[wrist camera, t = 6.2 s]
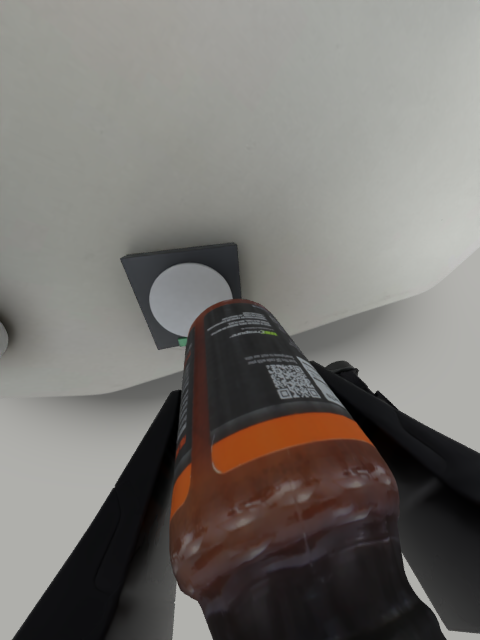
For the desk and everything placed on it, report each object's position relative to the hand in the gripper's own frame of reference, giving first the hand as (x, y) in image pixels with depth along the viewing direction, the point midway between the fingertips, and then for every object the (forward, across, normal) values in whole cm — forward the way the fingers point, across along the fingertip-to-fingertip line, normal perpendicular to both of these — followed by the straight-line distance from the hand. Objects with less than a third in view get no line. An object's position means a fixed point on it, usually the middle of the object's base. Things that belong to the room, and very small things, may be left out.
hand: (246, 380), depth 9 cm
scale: (+13, +3, +1) cm, 13 cm away
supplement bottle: (+4, 0, 0) cm, 4 cm away
